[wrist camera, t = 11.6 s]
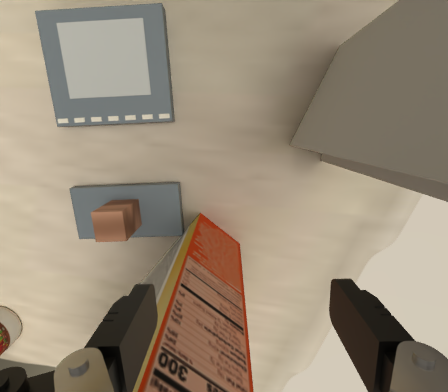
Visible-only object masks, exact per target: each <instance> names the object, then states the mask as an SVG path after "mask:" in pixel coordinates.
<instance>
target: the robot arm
mask: <svg viewBox="0 0 448 392" xmlns="http://www.w3.org/2000/svg"><path fill="white" fill-rule="evenodd" d="M329 312H330V318H331V322H332V324H333V326H334V328H335V330H336V332H337V334H338V336H339V338H340V339H341V341H342V343H343V345H344V347H345V349H346V351H347V353H348V355H349V356H350V358H351V360H352V362H353V364H354V366H355V368H356V369H357V371H358V373H359V375H360V377H361V379H362V381H363V383H364V384H365V386H366V388H367V390H368V392H448V359H447V358H446V357H445V356H444V355H443V354H441V353H440V352H439V351H437V350H436V349H434V348H432V347H430V346H428V345H426V344H423V343H420V342H416V341H415V340H414V339H413V338H412V337H411V336H410V334H409V333H408V332H407V331H406V330H405V329H404V328H403V327H402V325H401V324H400V323H399V322H398V321H397V320H396V319H395V317H394V316H392V315H391V313H390V312H389V311H388V310H387V309H386V308H385V307H384V305H383V304H382V303H381V302H380V301H379V300H378V298H377V297H375V296H374V295H372V294H370V293H369V292H367V291H366V290H360V289H359V288H358V286H357V285H356V284H355V283H354V282H353V280H352V279H333V280H332V281H331V291H330V307H329ZM157 321H158V312H157V304H156V296H155V288H154V285H153V284H136V285H135V286H134V288H133V289H132V291H131V293H130V294H129V296H123V297H122V298H120V299H119V300H118V301H116V302H115V303H114V304H113V305H112V307H111V308H110V310H109V311H108V314H106V316H105V317H104V319H103V322H101V323H100V325H99V326H98V328H97V329H96V331H95V332H94V334H93V335H92V337H91V338H90V340H89V341H88V343H87V344H86V346H85V347H84V348H83V349H80V350H78V351H75V352H73V353H71V354H70V355H68V356H67V357H66V358H64V359H63V360H62V361H61V362H60V363H59V365H58V366H57V367H56V370H54V371H51V372H48V373H44V374H41V375H37V376H34V377H30V378H27V374H26V371H25V370H24V369H23V368H21V367H10V368H6V369H3V370H1V371H0V392H133V389H134V386H135V384H136V381H137V378H138V376H139V373H140V370H141V368H142V365H143V362H144V359H145V357H146V354H147V351H148V349H149V346H150V343H151V341H152V338H153V335H154V332H155V330H156V327H157Z"/></svg>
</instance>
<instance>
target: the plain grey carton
mask: <svg viewBox="0 0 448 392" xmlns="http://www.w3.org/2000/svg"><path fill="white" fill-rule="evenodd" d="M290 146H293V147H298V148H302V149H306V150H310V151H314V152H318V153H322V156H321V161H324V162H327V163H330V164H333V165H336V166H339V167H342V168H345V169H348V170H351V171H354V172H357V173H361V174H364V175H367V176H370V177H373V178H376V179H379V180H382V181H385V182H388V183H391V184H394V185H397V186H401V187H404V188H407V189H410V190H413V191H416V192H419V193H422V194H425V195H429V196H432V197H435V198H437V199H441V200H444V201H447V202H448V0H399V1H398V2H396V3H395V4H394V5H392V6H391V7H390V8H389V9H387V10H386V11H385V12H383V13H382V14H381V15H379V16H378V17H377V18H376V19H374V20H373V21H372V22H370V23H369V24H368V25H366V26H365V27H364V28H363V29H361V30H360V31H359V32H357V33H356V34H355V35H353V36H352V37H351V38H350V39H348V40H347V41H346V42H344V43H343V44H342V45H340V46H339V48H338V50H337V52H336V54H335V56H334V58H333V60H332V62H331V64H330V66H329V68H328V70H327V72H326V74H325V76H324V78H323V80H322V82H321V84H320V86H319V88H318V90H317V92H316V94H315V96H314V98H313V99H312V101H311V103H310V105H309V107H308V109H307V111H306V113H305V115H304V117H303V119H302V121H301V123H300V125H299V127H298V129H297V131H296V133H295V135H294V137H293V139H292V141H291V143H290Z"/></svg>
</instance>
